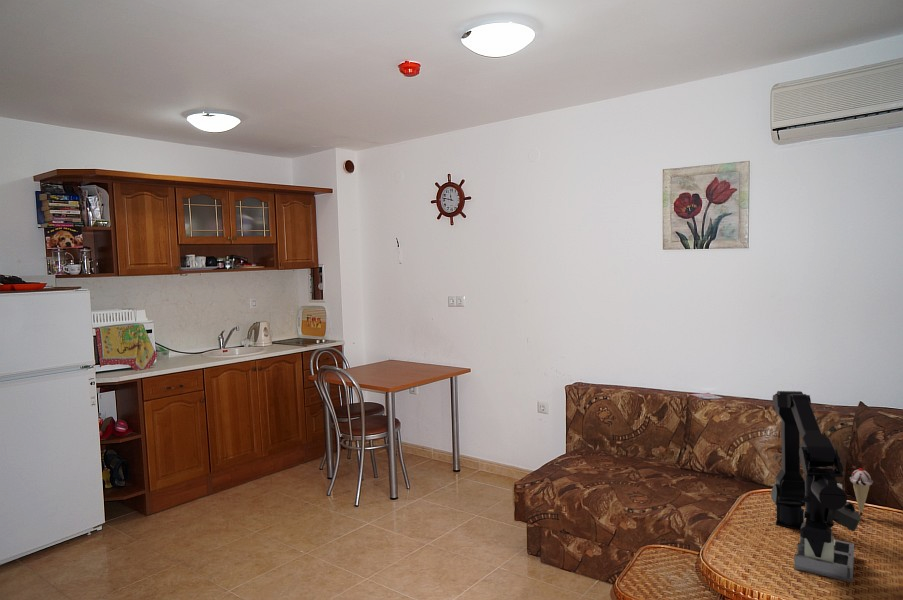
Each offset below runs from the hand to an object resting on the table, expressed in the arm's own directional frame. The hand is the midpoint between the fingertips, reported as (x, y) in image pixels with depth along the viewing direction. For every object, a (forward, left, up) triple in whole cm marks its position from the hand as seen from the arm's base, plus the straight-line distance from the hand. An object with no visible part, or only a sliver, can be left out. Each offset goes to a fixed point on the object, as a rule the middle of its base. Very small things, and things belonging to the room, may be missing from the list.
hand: (818, 553), depth 145 cm
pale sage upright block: (0, 0, -2) cm, 2 cm away
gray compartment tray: (+1, +4, -4) cm, 6 cm away
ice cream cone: (+8, +39, -4) cm, 40 cm away
